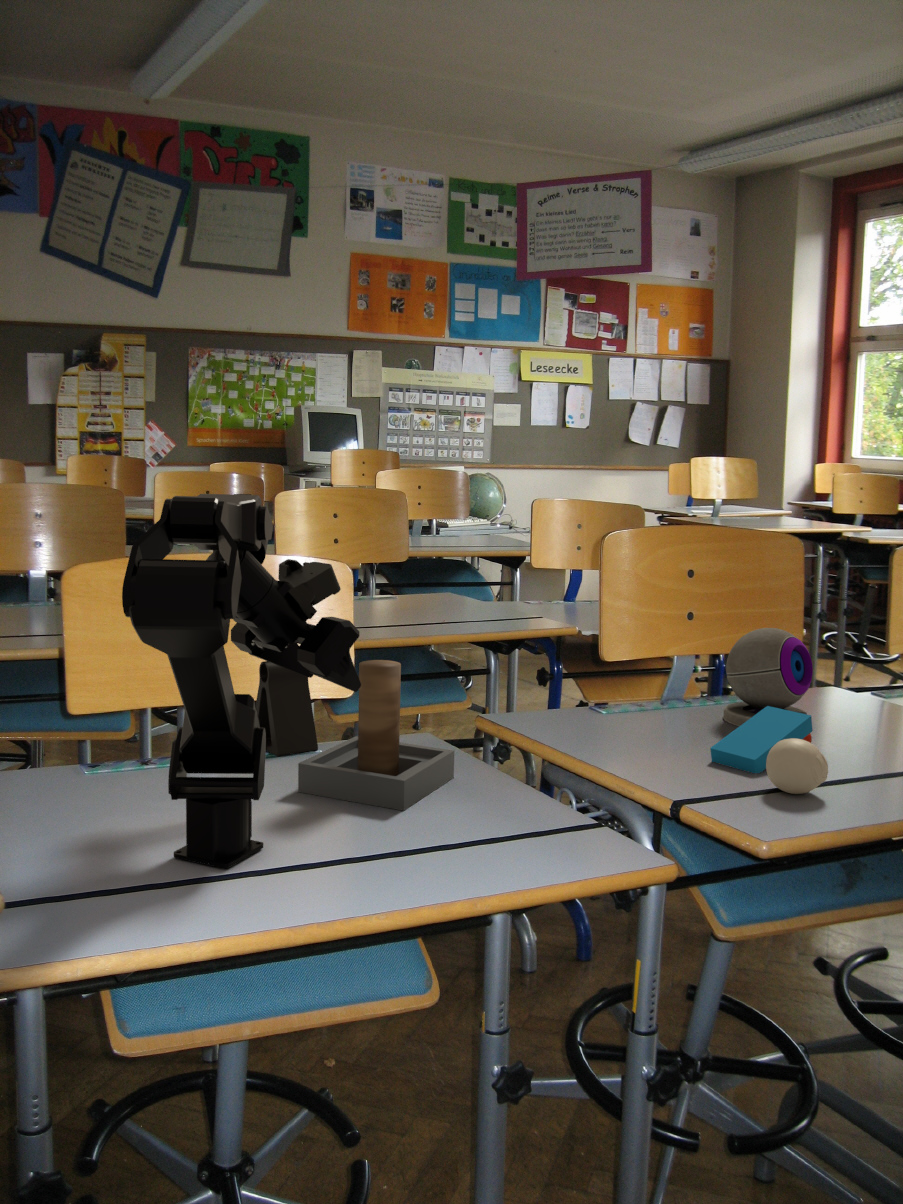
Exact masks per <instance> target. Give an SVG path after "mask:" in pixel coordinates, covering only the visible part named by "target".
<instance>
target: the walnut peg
mask: <svg viewBox="0 0 903 1204" xmlns="http://www.w3.org/2000/svg"><path fill="white" fill-rule="evenodd" d="M358 667H359V668H358V677H359V680H360V682H361V687H360V688H359V690H358V715H357V716H358V719H357V720H358V723H357V724H358V728H357V729H358V731H357V732H358V733H357V734H358V735H357V736H358V770H360V771H366V772H372V773H378V774H384V775H391V776H398V775H399V742H400V733H401V731H400V730H401V729H400V728H401V727H400V726H401V721H400V720H401V688H402V687H401V683H402V682H401V681H402V680H401V679H402V678H401V677H402V676H401V675H402V672H401V671H402V664H401V662H398V661H395V660H387V659H386V660H385V659H370V660H364V661H361V662H359V663H358Z"/></svg>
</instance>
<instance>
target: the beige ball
mask: <svg viewBox="0 0 903 1204" xmlns="http://www.w3.org/2000/svg"><path fill="white" fill-rule="evenodd" d="M765 770H766V774H767V776H768V778H769V781H770V783H771V784H773V786H775V787H776V788H777V789H778V790H781V791H782V792H785V793H787V794H792V795H801V794H806V793H809V792H812V791H814V790H815V789H816V788H817V787H819V786H820V785H821V784H823V783H825V782H826V780H827V779H828V774H829V764H828V761H827V759H826V757H825V755H824V754H823V753H822V752H821V751H820V749H819V748H818V747H817V746H816V745H815V744H813V743H812V742H811V743H810V742H808V741H805V740H802V739H796V738H790V739H784V740H781V741H779V742H777V743H776V744H775V745H774V746H773V747H772V748H771V750H770V751H769V753H768V756H767V760H766V769H765Z"/></svg>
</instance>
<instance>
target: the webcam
mask: <svg viewBox="0 0 903 1204" xmlns="http://www.w3.org/2000/svg"><path fill="white" fill-rule="evenodd" d="M725 669H726V670H725V671H726V677H727V682H728V684H729V686H730V689H731V690H732V691H733V692H734V694H735V696H736V697H738V699H740V701H738V702H733V703H729V704H727V705H726V706H724V710H723V720H724V721H725V722H728V723H729V724H731V725H734V726H737V727H739V726H741V725H742V724H743V723H745V722H746V721H747V720H749V719H750V718H752V717H753V716H754V715H756V714H757V713H758V712H760V711H761V710H762V709H764V708H765V707H766V706H770V707H775V708H779V709H784V710H789V711H793V712H798V713H802V714H807V715H808V712H807V711H805V710H803V709H801V708H798V707H795V706H792V705H794V704H796V703H797V702H798V701H800V700H801V699H802V697H803V696H804V695H805V694H806V692H808V690H809V688H810V686H811V683H812V681H813V673H814V672H813V671H814V670H813V669H814V667H813V661H812V657H811V654H810V652H809V650H808V648H807V646H806V645H805V644H804V643H803V641H802V640H800V639H799V638H798V637H796V636H795V635H794V634H792V633H791V632H789V631H786V630H784V629H780V628H777V627H776V628H775V627H762V628H757V629H753V630H752V631H749V632H747V633H746V634H744V635H742V636H741V637H739V639H738V640H737V641H736V642H735V643H734V645H733V646H732V648H731V649H730V651H729V653H728V656H727V660H726V666H725Z"/></svg>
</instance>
